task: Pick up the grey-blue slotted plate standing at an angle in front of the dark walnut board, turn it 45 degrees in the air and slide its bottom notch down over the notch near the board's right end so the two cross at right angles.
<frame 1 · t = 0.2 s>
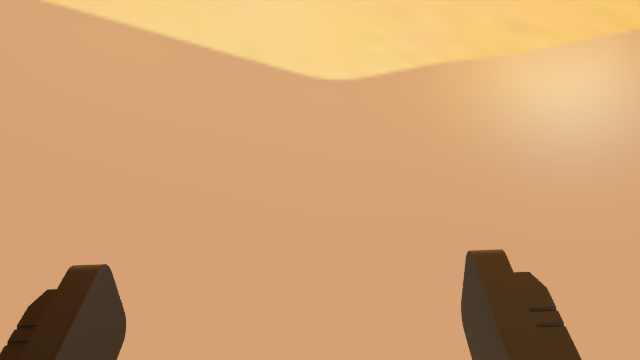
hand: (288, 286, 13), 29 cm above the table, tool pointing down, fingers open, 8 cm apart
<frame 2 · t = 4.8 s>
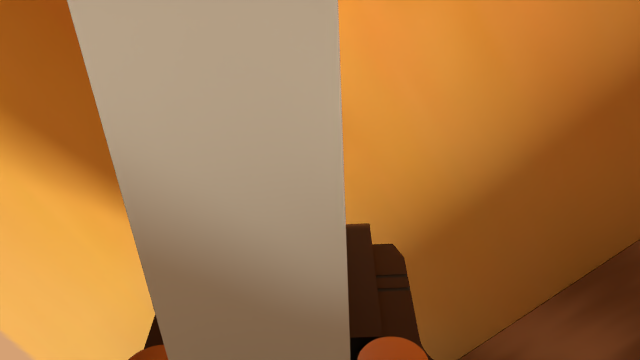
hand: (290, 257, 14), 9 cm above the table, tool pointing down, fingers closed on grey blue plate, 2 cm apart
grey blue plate: (301, 106, 21), on the table, touching gripper
walnut board: (525, 338, 28), on the table
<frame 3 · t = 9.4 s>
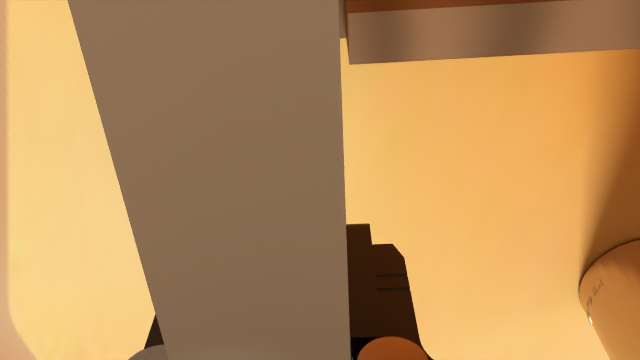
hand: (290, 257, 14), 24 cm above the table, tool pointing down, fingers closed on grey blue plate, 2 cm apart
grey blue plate: (301, 106, 21), point 15 cm above the table, touching gripper
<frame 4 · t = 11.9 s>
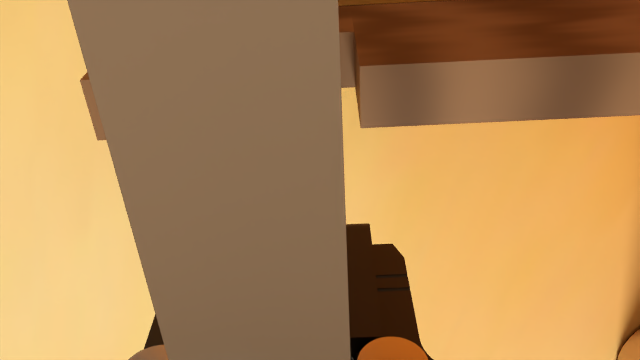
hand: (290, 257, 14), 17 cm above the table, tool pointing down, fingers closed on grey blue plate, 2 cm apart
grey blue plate: (301, 106, 21), point 8 cm above the table, touching gripper
walnut board: (406, 28, 28), on the table
when the fingers open (10 cm above the table, at t = 14.2 s): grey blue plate stays where it is, on the table.
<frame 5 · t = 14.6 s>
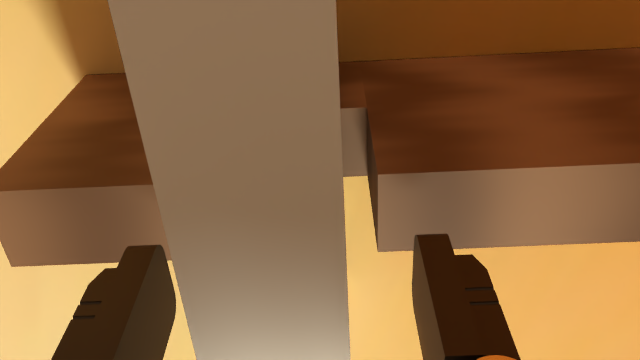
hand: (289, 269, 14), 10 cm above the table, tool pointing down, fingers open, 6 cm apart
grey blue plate: (303, 96, 22), on the table
walnut board: (432, 89, 22), on the table
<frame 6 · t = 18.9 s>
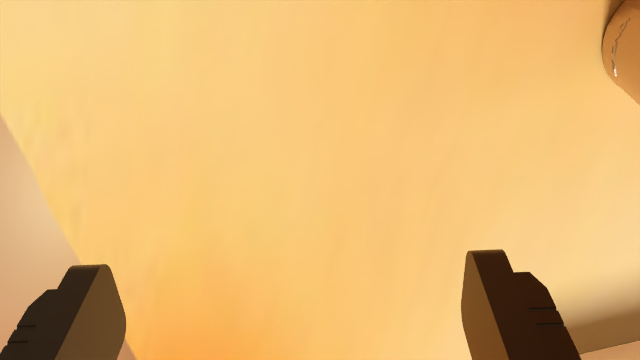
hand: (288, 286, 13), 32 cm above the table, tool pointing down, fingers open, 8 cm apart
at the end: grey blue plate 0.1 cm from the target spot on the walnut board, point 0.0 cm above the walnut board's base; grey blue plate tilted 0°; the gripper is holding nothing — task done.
